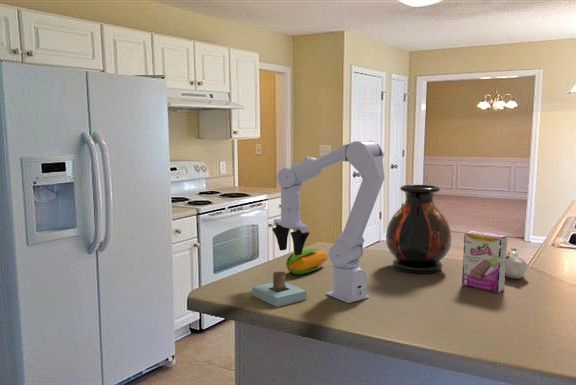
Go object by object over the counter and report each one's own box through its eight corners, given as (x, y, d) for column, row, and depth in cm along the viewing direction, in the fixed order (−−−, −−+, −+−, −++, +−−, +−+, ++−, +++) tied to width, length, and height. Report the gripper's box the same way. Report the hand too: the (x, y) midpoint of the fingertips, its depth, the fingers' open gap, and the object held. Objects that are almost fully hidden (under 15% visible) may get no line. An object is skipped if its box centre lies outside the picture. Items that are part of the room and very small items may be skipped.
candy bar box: (461, 285, 153) (463, 232, 151) (468, 282, 157) (470, 230, 155) (498, 293, 146) (501, 237, 144) (505, 290, 149) (508, 235, 147)
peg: (287, 296, 143) (287, 272, 142) (282, 300, 140) (282, 275, 139) (276, 294, 144) (276, 270, 144) (271, 298, 141) (271, 274, 140)
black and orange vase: (394, 257, 187) (396, 182, 184) (454, 264, 178) (458, 185, 175) (377, 271, 168) (379, 188, 165) (444, 280, 159) (448, 191, 155)
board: (306, 299, 140) (306, 290, 140) (277, 307, 134) (277, 297, 134) (280, 288, 150) (280, 280, 150) (252, 295, 144) (252, 286, 144)
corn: (280, 251, 163) (318, 241, 178) (279, 274, 165) (316, 262, 179) (297, 257, 159) (335, 246, 173) (296, 280, 160) (333, 267, 175)
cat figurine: (507, 242, 170) (515, 247, 155) (529, 256, 168) (539, 262, 153) (490, 265, 171) (496, 272, 156) (512, 279, 169) (520, 288, 155)
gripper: (316, 209, 148) (316, 255, 150) (286, 204, 160) (286, 246, 161) (297, 211, 144) (297, 258, 146) (268, 205, 156) (268, 249, 157)
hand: (290, 252), depth 153 cm, fingers open, 7 cm apart
